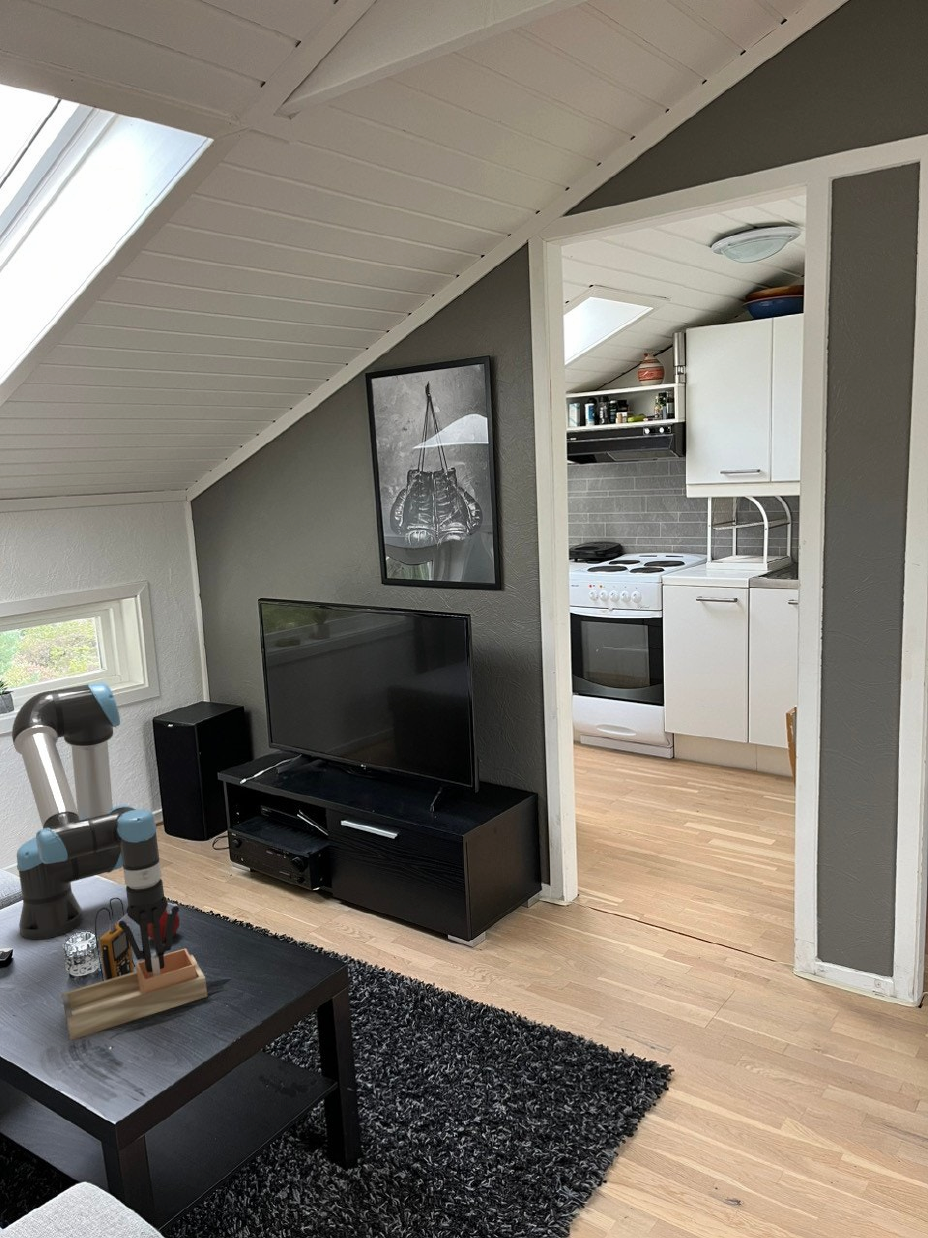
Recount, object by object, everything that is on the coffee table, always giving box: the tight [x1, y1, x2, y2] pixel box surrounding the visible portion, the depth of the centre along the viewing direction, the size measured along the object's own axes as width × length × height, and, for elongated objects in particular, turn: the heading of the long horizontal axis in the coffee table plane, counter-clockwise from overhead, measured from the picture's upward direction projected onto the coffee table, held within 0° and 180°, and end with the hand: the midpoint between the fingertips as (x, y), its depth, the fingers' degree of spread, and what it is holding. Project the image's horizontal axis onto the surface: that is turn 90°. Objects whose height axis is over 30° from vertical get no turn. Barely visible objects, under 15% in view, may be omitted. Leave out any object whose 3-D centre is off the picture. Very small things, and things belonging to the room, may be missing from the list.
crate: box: [135, 947, 197, 994], centre depth 211 cm, size 9×11×6 cm
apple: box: [147, 908, 180, 942], centre depth 236 cm, size 8×8×8 cm
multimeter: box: [94, 897, 136, 981], centre depth 215 cm, size 15×10×20 cm
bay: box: [61, 954, 208, 1041], centre depth 208 cm, size 12×28×4 cm, turn 119°
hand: (157, 983), depth 210 cm, fingers closed
